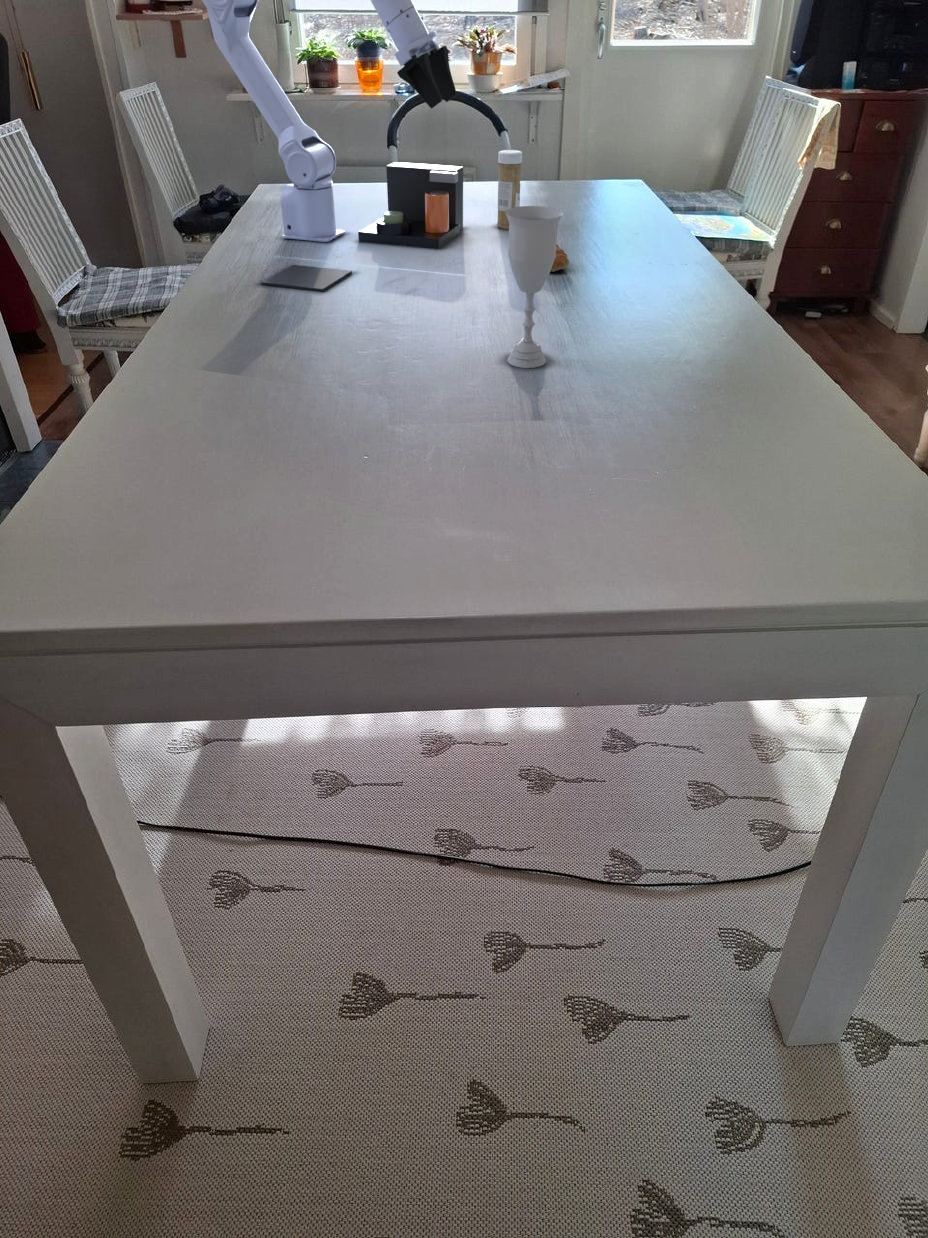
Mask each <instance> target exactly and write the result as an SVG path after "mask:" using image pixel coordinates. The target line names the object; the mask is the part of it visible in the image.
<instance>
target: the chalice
mask: <svg viewBox="0 0 928 1238" xmlns="http://www.w3.org/2000/svg"><path fill="white" fill-rule="evenodd" d="M506 216H507V218H508V221H509V229H508V247H507V248H508V249H507V250H508V251H507V253H508V254H507V257H508V260H509V264H510V268H511V272H512V274H513V277H514V279H515V282H516V284H517V287H518V290H519V291H520V292H522V293H523V294H525V303H524V306H523V308H522V310H523V312H524V315H525V317H524V320H523V321H522V322H521V325H522V326H523V329H524V334H523V337H522V338H521V340H518V341H516V342H515V343H514V345H513V346H512V349H511V351H510V355H509V357H508V358H507V363H508V364H509V365H511V366H514V367H516V368H522V369H531V368H533V369H534V368H539V367H542V366H544V365H545V364H546V362H547V360H546V358H545V356H544V352H543V350H542V346H541V344H540V343H539V342H538V341H536V340H535V339H534V338H533V336H532V332H533V328H534V326H535V325H536V322H535V321H534V319H533V316H534V315H533V314H534V312H535V311H536V307H535V303H534V297H535V294H537V293H539V292H541V291H542V289H543V287H544V285H545V283H546V281H547V279H548V277H549V275H550V273H551V272H552V271H551V268H552V265H553V263H554V260H555V257H556V244H557V241H558V227H559V225H558V224H559V223H560V221H561V218H562V216H563V211H562V210H560V209H557V208H554V207H550V206H549V207H548V206H540V205H520V207H514V208H510V209H508V210H506Z"/></svg>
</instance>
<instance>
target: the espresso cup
mask: <svg viewBox="0 0 928 1238" xmlns="http://www.w3.org/2000/svg"><path fill="white" fill-rule="evenodd" d="M425 230H426V231H427V232H429V233H445V232H448V231H449V193H448V192H445V191H428V192H425Z"/></svg>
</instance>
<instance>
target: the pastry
mask: <svg viewBox="0 0 928 1238" xmlns="http://www.w3.org/2000/svg"><path fill="white" fill-rule="evenodd" d="M569 264H570V261H569V258H568V254H567V253H565V251H564V249H563V248H560V246H559V245H558V244H557V243H556V257H555V260H554V263H553V265H552V268H551V271H550V272H553V273H554V272H557V271H559V270H564V271H565V270H567V268H568V266H569Z"/></svg>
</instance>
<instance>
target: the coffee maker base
mask: <svg viewBox="0 0 928 1238" xmlns="http://www.w3.org/2000/svg"><path fill="white" fill-rule="evenodd" d="M357 235H358V242H359V243H366V244H367V243H369V244H378V245H387V246H399V247H410V248H420V249H431V250H440V249H442V248H444V247H445V245H447V244H448V243H450V242H451V241H453V240H454V239H456V238H457V237H458V236H460V235H461V230H460V224H449V231H448V232H445V233H429V232H427V231H426V230H425V221H413V220H410V219H407V218H403V223H398V224H389V223H384V217H381V218H378V219H376V220H375V222H373V223H371V224H369V225H367V226H366V227H365V228H362V229H360V230H359V231H358V234H357Z"/></svg>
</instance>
